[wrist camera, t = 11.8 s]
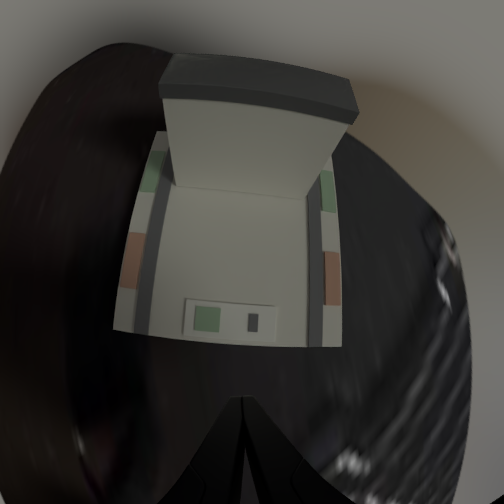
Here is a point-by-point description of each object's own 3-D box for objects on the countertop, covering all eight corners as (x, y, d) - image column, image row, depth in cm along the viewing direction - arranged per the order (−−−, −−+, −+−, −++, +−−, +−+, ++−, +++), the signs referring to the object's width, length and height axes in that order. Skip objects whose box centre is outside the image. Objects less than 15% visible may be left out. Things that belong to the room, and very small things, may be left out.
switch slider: (304, 201, 22) (359, 112, 12) (174, 187, 20) (158, 83, 11) (302, 168, 23) (348, 79, 13) (182, 154, 21) (174, 53, 12)
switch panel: (334, 346, 20) (343, 346, 18) (118, 330, 18) (111, 329, 16) (326, 159, 25) (331, 150, 24) (158, 139, 23) (156, 129, 22)
